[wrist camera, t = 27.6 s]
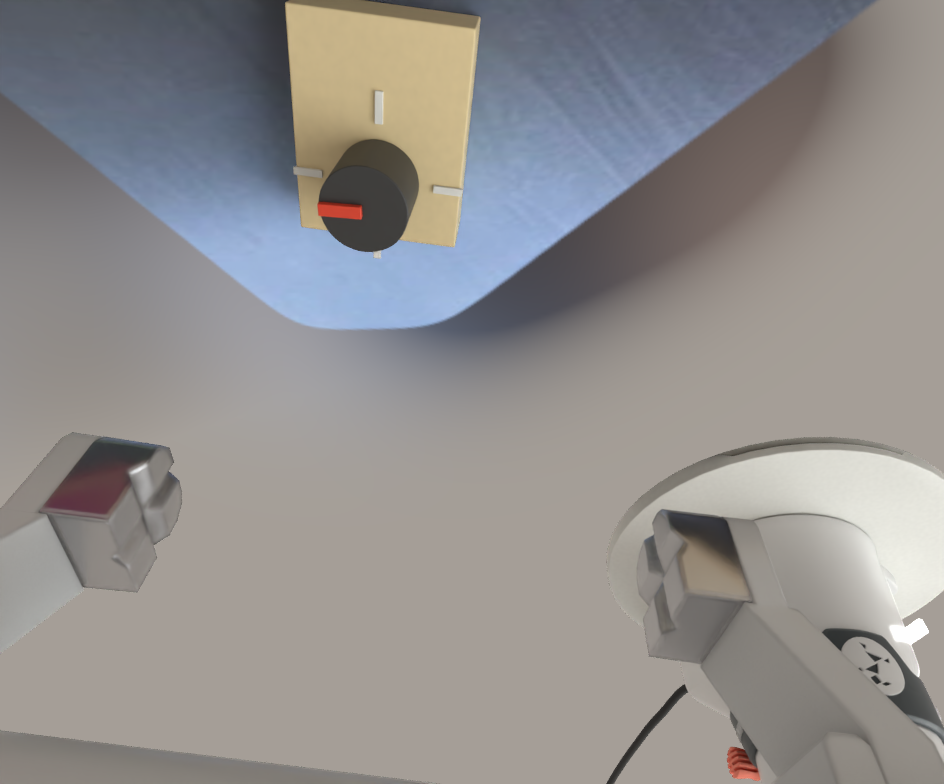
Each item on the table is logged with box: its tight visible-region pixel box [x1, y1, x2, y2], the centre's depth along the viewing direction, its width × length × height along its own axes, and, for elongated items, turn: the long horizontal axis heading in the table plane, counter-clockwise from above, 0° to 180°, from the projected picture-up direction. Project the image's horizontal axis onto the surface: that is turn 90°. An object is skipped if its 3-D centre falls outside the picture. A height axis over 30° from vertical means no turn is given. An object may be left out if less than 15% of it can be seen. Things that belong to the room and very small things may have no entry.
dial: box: [317, 139, 419, 252], centre depth 29 cm, size 4×4×4 cm
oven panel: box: [285, 0, 480, 259], centre depth 30 cm, size 11×8×3 cm
